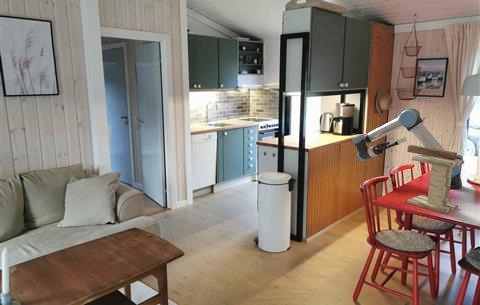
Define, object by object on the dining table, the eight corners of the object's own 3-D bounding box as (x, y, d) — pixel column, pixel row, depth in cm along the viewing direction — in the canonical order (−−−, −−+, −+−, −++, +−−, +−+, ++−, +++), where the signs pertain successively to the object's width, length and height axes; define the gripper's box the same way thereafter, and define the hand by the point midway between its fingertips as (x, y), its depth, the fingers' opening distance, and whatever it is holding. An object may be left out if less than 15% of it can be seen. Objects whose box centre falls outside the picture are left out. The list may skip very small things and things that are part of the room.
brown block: (411, 151, 233) (411, 144, 232) (456, 159, 210) (457, 152, 210) (407, 151, 231) (408, 145, 230) (452, 160, 208) (453, 153, 207)
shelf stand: (421, 197, 232) (427, 153, 225) (457, 208, 214) (464, 160, 208) (407, 202, 223) (412, 156, 217) (443, 213, 205) (450, 163, 199)
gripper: (388, 153, 273) (412, 143, 255) (366, 157, 259) (390, 146, 242) (384, 143, 274) (408, 133, 257) (363, 147, 261) (386, 136, 244)
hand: (400, 139), depth 249 cm, fingers open, 13 cm apart
